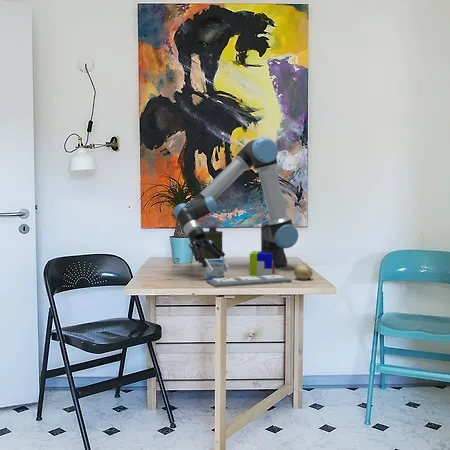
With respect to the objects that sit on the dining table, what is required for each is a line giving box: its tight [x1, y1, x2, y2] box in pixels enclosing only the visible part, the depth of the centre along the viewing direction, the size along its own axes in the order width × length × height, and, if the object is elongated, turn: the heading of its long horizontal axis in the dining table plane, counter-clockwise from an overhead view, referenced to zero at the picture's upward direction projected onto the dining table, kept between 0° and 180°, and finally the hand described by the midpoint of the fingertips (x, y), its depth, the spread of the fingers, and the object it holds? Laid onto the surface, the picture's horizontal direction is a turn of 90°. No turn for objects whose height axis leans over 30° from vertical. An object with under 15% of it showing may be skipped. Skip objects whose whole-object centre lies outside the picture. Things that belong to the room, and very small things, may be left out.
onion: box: [293, 263, 313, 281], centre depth 246 cm, size 8×8×7 cm
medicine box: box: [203, 259, 225, 281], centre depth 248 cm, size 8×4×9 cm, turn 106°
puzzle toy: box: [249, 250, 275, 277], centre depth 261 cm, size 10×10×10 cm
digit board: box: [206, 274, 293, 288], centre depth 239 cm, size 34×12×2 cm, turn 109°
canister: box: [203, 226, 223, 259], centre depth 288 cm, size 11×10×20 cm
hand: (219, 270), depth 246 cm, fingers closed on medicine box, 9 cm apart
